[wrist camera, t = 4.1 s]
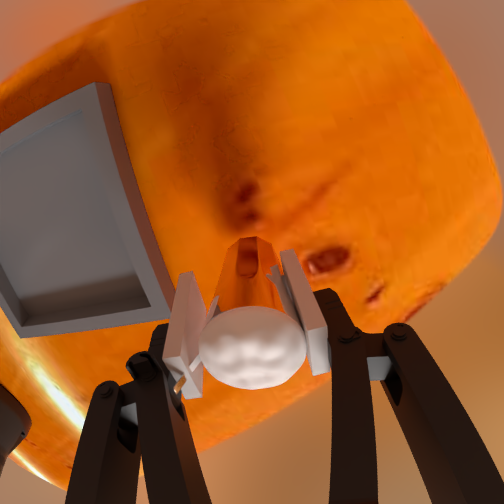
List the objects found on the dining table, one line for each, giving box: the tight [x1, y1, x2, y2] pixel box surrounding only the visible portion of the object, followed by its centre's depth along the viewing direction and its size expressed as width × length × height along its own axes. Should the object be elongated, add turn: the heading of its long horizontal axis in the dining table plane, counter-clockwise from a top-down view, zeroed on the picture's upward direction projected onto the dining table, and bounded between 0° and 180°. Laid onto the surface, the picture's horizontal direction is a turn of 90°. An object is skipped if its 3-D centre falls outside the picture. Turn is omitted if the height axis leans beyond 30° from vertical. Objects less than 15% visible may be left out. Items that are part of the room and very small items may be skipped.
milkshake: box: [173, 236, 307, 394], centre depth 15 cm, size 4×5×10 cm
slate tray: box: [0, 82, 176, 338], centre depth 18 cm, size 16×16×2 cm
